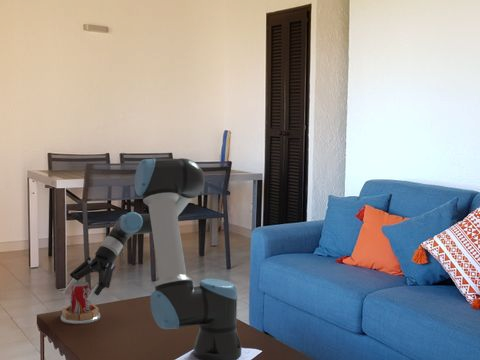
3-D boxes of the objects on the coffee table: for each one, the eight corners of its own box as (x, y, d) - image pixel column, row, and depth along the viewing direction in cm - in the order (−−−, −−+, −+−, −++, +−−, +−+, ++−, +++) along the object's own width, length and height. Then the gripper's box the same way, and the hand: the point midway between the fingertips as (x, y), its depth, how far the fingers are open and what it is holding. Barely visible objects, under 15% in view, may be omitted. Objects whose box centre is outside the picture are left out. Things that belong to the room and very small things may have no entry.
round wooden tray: (105, 320, 219) (105, 311, 218) (67, 326, 211) (67, 317, 211) (92, 309, 231) (92, 300, 230) (56, 315, 223) (55, 306, 223)
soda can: (80, 319, 216) (80, 287, 215) (66, 316, 220) (66, 284, 218) (94, 314, 222) (94, 282, 221) (80, 311, 226) (80, 279, 225)
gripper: (136, 261, 224) (105, 310, 214) (93, 252, 239) (61, 297, 229) (125, 249, 220) (93, 299, 209) (82, 240, 235) (49, 286, 224)
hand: (77, 298), depth 219 cm, fingers open, 13 cm apart
